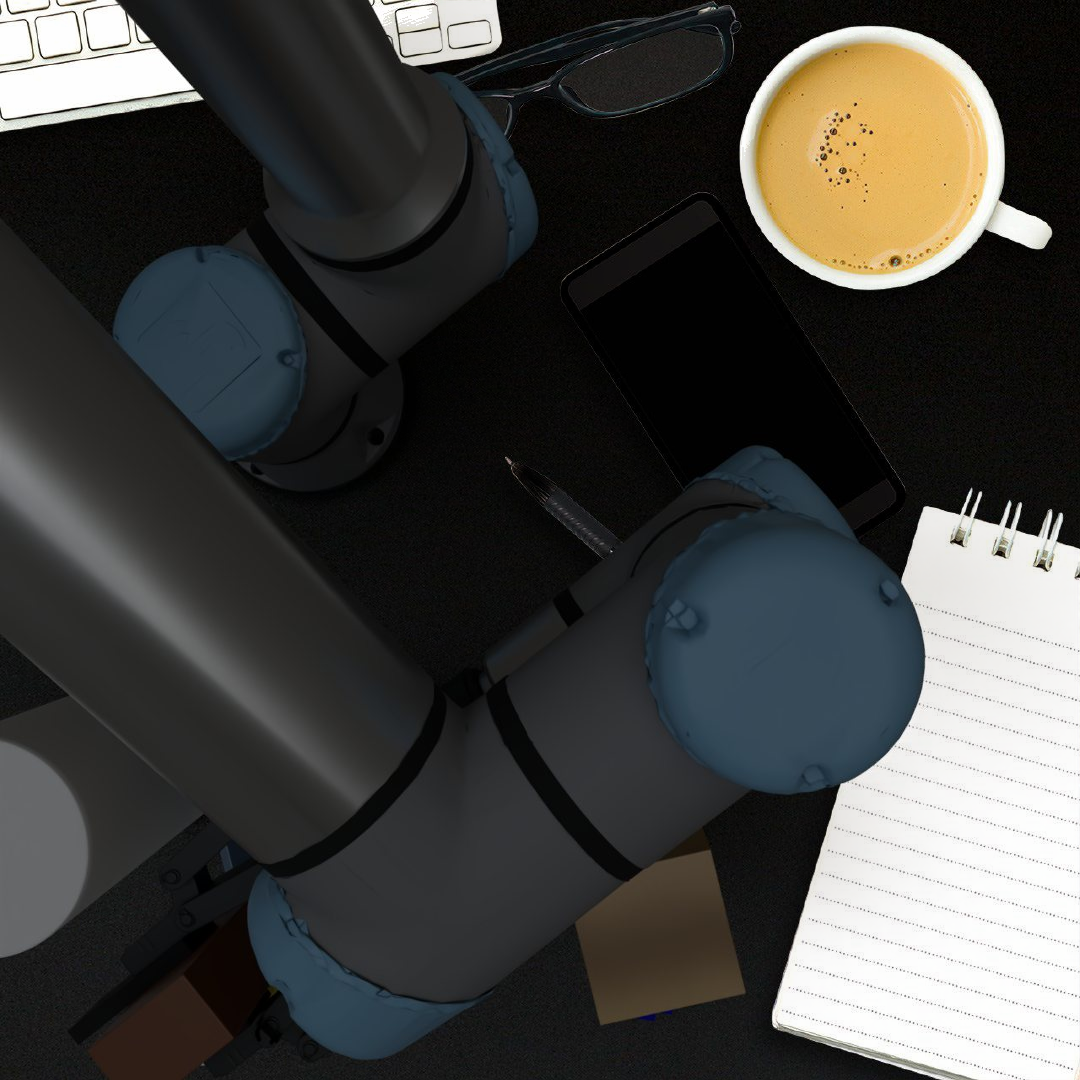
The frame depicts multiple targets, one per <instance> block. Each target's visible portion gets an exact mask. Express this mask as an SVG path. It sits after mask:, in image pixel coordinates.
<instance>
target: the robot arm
mask: <svg viewBox="0 0 1080 1080" xmlns="http://www.w3.org/2000/svg"><path fill="white" fill-rule="evenodd" d="M114 1H115V2H116V4H118V6H119V7H120V8H121V9H122V10H123V11H124V13H125V14H126V15H127V16H128V17H129V18H130V19H131V20H132V21H133V22H134V24H135V25H136V26H137V27H138V28H139V29H140V30H141V31H142V33H143V34H144V35H146V37H147V38H148V39H149V41H150V42H151V43H153V45H154V46H155V47H156V48H157V49H158V51H159V52H160V53H161V54H162V55H163V56H164V57H165V58H166V59H167V60H168V62H169V63H170V64H171V65H172V66H173V67H174V68H175V70H176V71H177V72H178V73H179V74H180V75H181V76H182V78H184V79H185V81H186V82H187V83H188V84H189V86H191V87H192V89H193V90H194V91H195V92H196V93H197V94H198V95H199V97H200V98H202V100H203V101H204V102H205V103H206V104H207V105H208V107H209V108H210V109H211V110H212V111H213V112H214V113H215V115H216V116H217V117H218V118H219V119H220V120H221V122H223V123H224V125H226V127H227V128H228V129H229V130H230V131H231V132H232V134H233V135H234V136H235V137H236V138H237V139H238V140H239V141H240V142H241V144H242V145H243V146H244V147H245V148H246V149H247V150H248V151H249V152H250V153H251V154H252V156H253V157H254V158H255V159H256V160H257V162H259V164H260V165H261V166H262V184H263V185H262V186H263V191H264V195H265V199H266V202H267V204H268V208H266V209H265V210H264V211H263V212H261V213H260V214H259V215H258V216H257V217H256V218H254V219H253V220H252V221H251V222H250V223H249V224H248V225H246V226H245V227H244V228H242V230H240V231H239V232H238V233H237V234H236V235H234V236H233V237H232V238H231V239H230V240H228V241H227V242H226V243H225V244H223V245H217V244H215V245H214V244H213V245H211V244H207V245H201V246H196V245H195V246H187V247H182V248H179V249H176V250H173V251H170V252H168V253H166V254H163V255H162V256H160V257H158V258H156V259H155V260H153V261H152V262H151V263H149V264H148V265H147V266H146V267H144V269H142V270H141V272H139V274H137V275H136V277H135V278H134V279H133V280H132V282H130V284H129V286H128V288H127V289H126V290H125V293H124V295H123V296H122V299H121V301H120V303H119V304H118V307H117V310H116V314H115V317H114V322H113V325H112V335H111V334H110V333H109V332H108V331H107V330H106V328H104V327H103V326H102V324H101V323H99V321H98V320H97V319H96V318H95V317H94V316H93V315H92V314H91V313H90V312H89V311H88V310H87V308H86V307H85V306H84V305H83V304H82V303H81V302H80V301H79V300H78V299H77V298H76V297H75V296H74V295H73V294H72V292H71V291H70V290H68V289H67V287H66V286H65V285H64V284H63V283H62V282H61V281H60V280H59V278H57V277H56V276H55V274H54V273H53V272H52V271H51V270H50V269H49V268H48V267H47V265H45V264H44V263H43V262H42V261H41V259H39V257H38V256H37V255H36V254H35V253H34V252H33V251H32V250H31V249H30V247H28V246H27V244H25V242H24V241H23V240H22V239H21V238H20V237H19V236H18V235H17V234H16V233H15V232H14V230H13V229H12V228H11V227H10V226H9V225H8V224H7V223H6V222H5V221H4V220H3V219H2V218H1V217H0V635H1V636H2V637H3V638H4V639H5V640H6V641H7V642H9V643H10V644H11V645H12V646H13V647H14V648H15V649H17V650H18V651H19V652H20V653H21V654H22V655H23V656H24V657H26V658H27V659H28V660H29V661H30V662H31V663H32V664H33V665H34V666H36V667H37V668H38V669H39V670H41V672H43V674H45V675H46V676H47V677H48V678H49V679H51V681H53V682H54V683H55V684H56V685H57V686H59V688H60V689H61V690H63V691H64V692H65V693H67V695H68V696H71V697H72V698H73V699H74V700H76V701H77V702H78V703H79V704H80V705H81V706H82V707H83V708H85V709H86V710H87V711H88V712H89V713H90V714H91V715H93V716H94V717H95V718H96V719H97V720H98V721H99V722H100V723H102V724H103V725H104V726H105V727H106V728H107V729H108V730H109V731H111V732H112V733H113V734H114V735H115V736H116V737H117V738H119V739H120V740H121V741H122V742H123V743H124V744H125V745H126V746H128V747H129V748H130V749H131V750H132V751H133V752H134V753H136V754H137V755H138V756H139V757H140V758H141V759H142V760H143V761H145V762H146V763H147V764H148V765H149V766H150V767H151V768H153V769H154V770H155V771H156V772H157V773H158V774H159V775H160V776H162V777H163V778H164V779H165V780H166V781H167V782H168V783H169V784H171V785H172V786H173V787H174V788H175V789H176V790H177V791H179V792H180V793H181V794H182V795H183V796H184V797H185V798H186V799H188V800H189V801H190V802H191V803H192V804H193V805H194V806H196V807H197V808H198V809H199V810H200V811H201V812H202V813H203V815H205V817H207V818H208V819H209V822H208V823H207V824H205V826H203V828H201V830H199V831H198V832H197V833H196V834H195V835H194V836H193V837H192V838H191V839H190V840H189V841H188V842H187V843H186V844H184V846H182V847H181V849H179V850H178V851H177V852H176V853H175V854H174V855H173V856H172V857H171V858H170V859H168V861H167V862H166V863H164V864H163V866H162V867H161V868H160V870H159V873H158V880H159V882H160V884H161V886H162V887H163V888H165V889H166V890H168V891H169V893H170V897H171V900H172V906H171V910H170V911H169V912H167V913H166V914H165V915H163V916H162V917H161V918H160V919H159V920H158V921H156V922H155V923H154V924H152V925H151V926H150V927H149V928H147V929H146V930H145V931H144V932H143V933H141V934H140V935H138V937H137V938H136V939H135V940H134V941H133V942H132V943H131V944H129V946H127V947H126V948H125V950H124V952H123V953H122V955H121V957H120V959H119V961H120V962H121V963H122V965H124V967H125V968H126V970H127V971H128V972H129V973H130V974H129V975H128V976H127V977H126V978H124V979H123V980H122V981H121V982H120V983H118V984H117V985H116V986H115V987H113V988H112V989H111V990H109V991H108V992H107V993H106V994H105V995H103V996H102V997H101V998H99V999H98V1000H97V1001H96V1002H95V1003H94V1004H93V1006H91V1007H90V1009H88V1011H87V1012H85V1013H84V1014H83V1015H82V1016H81V1017H80V1018H79V1019H78V1020H77V1021H76V1023H74V1024H73V1025H72V1026H71V1028H69V1029H68V1030H67V1033H68V1034H69V1035H70V1037H71V1038H72V1039H73V1040H74V1042H75V1043H76V1044H77V1045H78V1046H80V1045H81V1044H82V1043H84V1042H85V1041H86V1040H87V1039H89V1038H90V1037H91V1036H92V1035H94V1033H96V1032H97V1031H99V1030H100V1029H101V1028H102V1027H104V1026H105V1025H106V1024H107V1023H109V1022H110V1021H111V1020H112V1019H113V1018H115V1017H117V1015H118V1014H121V1013H122V1012H123V1011H124V1010H125V1009H126V1008H127V1007H128V1006H129V1004H130V1003H131V1002H132V1001H134V1000H135V999H136V998H138V997H139V996H140V995H141V994H143V993H144V992H145V991H146V990H148V989H149V988H150V987H151V986H153V985H154V984H155V983H156V982H158V981H159V980H160V979H161V978H163V977H164V976H165V975H166V974H168V973H169V972H170V971H171V970H173V969H174V968H175V967H176V966H178V965H179V964H180V963H181V962H183V961H184V960H185V959H186V958H188V957H189V956H190V955H191V954H193V953H194V952H195V950H196V949H197V948H198V947H199V946H200V945H201V944H202V943H203V941H204V940H205V939H206V938H207V937H208V936H209V935H210V934H211V933H212V931H213V930H214V929H215V928H216V927H217V925H216V924H215V922H214V921H213V920H215V919H217V918H219V917H221V916H222V915H224V914H226V913H228V912H230V911H231V910H233V909H235V908H237V907H239V906H240V905H242V904H244V903H246V902H248V914H247V922H248V931H249V936H250V941H251V945H252V947H253V950H254V953H255V956H256V959H257V962H258V965H259V967H260V970H261V971H262V973H263V975H264V977H265V979H266V980H267V982H268V983H269V985H271V986H273V987H275V988H277V989H278V991H277V992H276V993H275V994H274V995H272V996H271V992H270V991H269V990H268V989H267V991H266V992H265V993H264V995H263V996H262V998H261V999H260V1001H259V1002H258V1004H257V1005H256V1007H255V1008H254V1010H253V1011H252V1013H251V1014H250V1016H249V1017H248V1019H247V1020H246V1022H245V1023H244V1025H243V1026H242V1028H241V1029H240V1031H239V1032H238V1034H237V1035H236V1037H235V1038H234V1039H233V1040H232V1041H231V1042H230V1043H228V1044H227V1045H226V1046H224V1047H223V1048H222V1049H221V1050H219V1051H218V1052H217V1053H216V1054H214V1055H213V1056H212V1057H210V1058H209V1059H208V1060H207V1061H205V1062H204V1065H205V1067H206V1069H207V1070H208V1071H209V1072H210V1073H211V1075H212V1076H213V1078H214V1079H217V1078H220V1077H224V1076H227V1075H229V1074H230V1073H231V1072H232V1071H234V1070H235V1069H236V1068H237V1067H239V1066H240V1065H242V1064H243V1063H244V1062H245V1061H247V1060H248V1059H249V1058H251V1056H253V1055H254V1054H255V1053H257V1052H258V1051H259V1050H261V1049H262V1048H263V1049H271V1048H273V1047H275V1046H276V1045H278V1043H279V1042H280V1040H283V1041H286V1042H287V1043H290V1044H291V1045H292V1046H294V1047H296V1052H297V1055H298V1056H299V1057H300V1058H301V1060H302V1061H305V1062H308V1063H315V1062H317V1061H319V1060H321V1059H323V1058H324V1057H325V1056H327V1055H329V1054H330V1053H331V1052H333V1053H335V1054H339V1055H341V1056H342V1055H343V1056H345V1057H348V1058H351V1059H354V1060H360V1061H369V1060H379V1059H380V1060H381V1059H384V1058H388V1057H389V1058H390V1056H393V1055H395V1054H397V1053H399V1052H401V1051H403V1050H404V1049H406V1048H407V1047H410V1046H411V1045H412V1044H413V1043H415V1042H418V1040H420V1039H421V1038H423V1037H424V1036H426V1035H427V1034H429V1033H430V1032H433V1031H434V1030H435V1029H437V1028H438V1027H440V1026H441V1025H443V1024H444V1023H446V1022H448V1021H450V1020H451V1019H452V1018H453V1017H456V1016H457V1015H458V1014H460V1013H461V1012H463V1011H465V1010H468V1009H469V1008H471V1007H474V1006H476V1005H477V1004H479V1003H480V1002H482V1001H483V1000H484V999H485V998H487V997H488V996H491V995H492V994H493V992H494V991H495V990H496V989H497V988H498V986H499V985H500V984H501V983H502V982H503V981H504V979H506V977H508V976H509V975H510V974H512V973H513V972H514V971H516V970H517V969H518V968H519V967H520V966H522V965H523V964H524V963H526V962H527V961H528V960H529V959H531V958H532V957H533V956H534V955H536V954H537V953H538V952H539V951H540V950H542V949H543V948H544V947H546V946H547V945H548V944H549V943H551V942H552V941H553V940H554V939H556V938H557V937H558V936H560V935H562V933H564V932H565V931H566V930H567V929H569V928H570V927H571V926H572V925H574V924H575V922H576V921H577V920H578V919H580V918H581V917H582V916H583V915H585V914H586V913H587V912H589V911H590V910H591V909H592V908H594V907H595V906H596V905H597V904H599V903H600V902H601V901H602V900H604V899H605V898H606V897H607V896H609V895H610V894H611V893H613V892H614V891H615V890H616V889H618V888H619V887H620V886H621V885H623V884H624V883H625V882H628V881H630V879H632V878H633V877H635V876H636V875H637V874H639V873H640V872H641V871H642V870H644V869H647V868H649V867H650V866H651V865H653V864H654V863H655V862H657V861H658V860H659V859H661V858H662V857H663V856H665V855H666V854H667V853H668V852H670V851H671V850H672V849H674V848H675V847H676V846H678V845H679V844H680V843H682V842H683V841H684V840H686V839H687V838H688V837H690V836H691V835H692V834H694V833H695V832H696V831H697V830H699V829H700V828H701V827H702V828H703V827H704V826H706V825H707V824H708V823H709V822H711V821H712V820H714V818H716V817H718V816H719V815H720V814H721V813H723V812H724V811H725V810H727V809H728V808H729V807H730V806H732V805H733V804H734V803H736V802H737V801H738V800H740V799H741V798H742V797H744V796H745V795H746V794H748V793H750V791H751V790H754V791H757V792H763V793H767V794H774V795H787V796H788V795H793V794H798V793H810V792H816V791H819V790H822V789H825V788H833V787H836V786H839V785H840V784H846V783H848V782H851V781H852V780H854V779H856V778H858V777H859V776H861V775H862V774H864V773H865V772H867V771H869V770H870V769H871V768H872V767H874V766H875V765H876V764H878V763H879V762H880V761H881V760H882V759H883V758H884V757H885V756H887V754H888V753H889V752H890V751H891V750H892V748H893V747H894V746H895V745H896V744H897V743H898V742H899V740H900V739H901V738H902V737H903V734H904V732H905V731H906V730H907V728H908V726H909V724H910V722H911V720H912V718H913V716H914V713H915V710H916V708H917V707H918V704H919V701H920V699H921V694H922V691H923V686H924V681H925V680H924V679H925V672H926V647H925V646H926V645H925V641H924V634H923V629H922V625H921V622H920V619H919V616H918V613H917V610H916V607H915V604H914V603H913V601H912V598H911V596H910V594H909V593H908V591H907V589H906V588H905V586H904V584H903V583H902V581H901V579H900V577H899V575H898V573H896V572H895V571H894V570H892V569H891V568H890V567H889V565H888V564H886V563H885V561H884V560H882V558H881V557H879V556H877V555H876V554H875V553H874V552H873V551H872V550H870V549H869V548H867V547H866V546H865V545H862V544H861V543H860V542H859V540H858V538H857V536H856V534H855V533H854V531H853V529H852V528H851V526H850V525H849V523H848V522H847V520H846V519H845V518H844V516H843V515H842V514H841V512H840V511H839V510H838V508H837V507H836V506H835V505H834V503H833V502H832V500H831V499H830V498H829V497H828V496H827V495H826V494H825V492H823V490H822V489H821V488H820V487H819V486H818V485H817V484H816V483H815V482H814V481H813V480H812V478H811V477H810V476H808V474H807V473H805V471H804V470H802V468H800V467H799V466H798V465H797V464H796V463H794V462H793V461H792V460H790V459H788V458H784V456H783V455H782V454H781V453H780V452H779V451H777V450H776V449H774V448H771V447H768V446H766V445H757V444H755V445H749V446H745V447H744V448H742V449H740V450H738V451H737V452H736V453H734V454H733V455H731V456H730V457H729V458H727V459H726V460H724V461H723V462H722V463H721V464H719V465H718V466H717V467H714V469H712V470H711V471H709V472H707V473H705V475H703V476H700V477H699V476H697V477H695V478H693V480H691V482H689V483H688V484H687V485H686V486H684V488H683V491H682V493H681V494H680V495H679V496H678V497H676V498H675V499H673V500H672V501H671V502H670V503H669V504H668V505H667V506H665V507H664V508H663V509H662V510H661V511H659V512H658V513H657V514H655V516H654V517H652V518H651V519H650V520H649V521H647V522H646V523H645V524H643V526H641V527H640V528H639V529H637V530H636V531H634V532H633V534H630V536H629V537H627V538H626V539H625V540H624V541H623V542H622V543H620V544H619V545H618V546H617V547H616V548H615V549H613V550H612V551H610V553H608V554H607V555H606V556H605V557H603V558H602V560H600V561H599V562H598V563H596V564H595V565H594V566H593V567H592V568H590V569H589V570H588V571H587V572H586V573H584V574H583V575H582V576H581V577H580V578H578V579H577V580H576V581H575V582H573V583H572V584H571V585H569V587H567V588H564V589H563V590H562V591H561V592H559V593H557V595H555V596H554V598H551V599H549V600H547V602H546V603H544V604H543V605H542V606H541V607H539V608H538V609H537V610H535V611H534V612H533V613H532V614H531V615H529V616H528V617H527V618H526V619H524V620H523V621H522V622H521V623H519V624H518V625H516V626H515V627H514V628H513V629H512V630H510V631H509V632H508V633H507V634H505V635H504V636H503V637H502V638H500V639H499V640H498V641H496V642H495V643H494V644H493V645H492V646H490V647H489V648H488V649H486V650H485V651H484V655H483V661H482V665H483V667H484V670H483V669H481V668H477V667H472V668H469V667H464V668H463V669H461V671H459V672H458V673H457V674H456V675H454V676H453V677H452V678H451V679H449V680H448V681H447V682H445V683H444V684H443V685H442V686H440V687H439V686H438V685H437V683H436V682H435V681H434V679H433V678H432V677H431V676H430V675H429V674H428V673H427V671H425V670H424V668H423V667H422V666H421V665H420V664H419V663H418V662H417V661H416V660H415V659H414V658H413V657H412V656H411V655H410V654H409V652H408V651H407V650H406V649H405V648H404V647H403V646H402V645H401V644H400V642H398V640H397V639H396V638H395V637H394V636H392V634H391V633H390V632H389V631H388V630H387V629H386V628H385V626H383V624H381V622H379V620H378V619H377V618H376V617H375V616H374V615H373V614H372V613H371V611H369V610H368V609H367V608H366V606H365V605H364V604H363V603H362V602H361V601H360V600H359V599H358V598H357V597H356V596H355V595H354V594H353V593H352V592H351V591H350V589H348V587H347V586H346V585H345V584H344V583H343V582H342V581H341V580H340V579H339V578H338V576H337V575H335V573H334V572H333V571H332V570H331V569H330V568H329V567H328V566H327V565H326V563H324V562H323V560H321V558H320V557H319V556H318V555H317V554H316V553H315V552H314V551H313V550H312V549H311V548H310V547H309V545H308V544H307V543H306V542H305V541H304V540H303V539H302V538H301V537H300V536H299V535H298V534H297V533H296V532H295V531H294V529H293V528H292V527H290V525H288V523H287V522H286V521H285V520H284V519H283V518H282V517H281V515H280V514H278V512H276V511H275V509H274V508H273V507H272V506H271V505H270V504H269V503H268V502H267V501H266V500H265V499H264V498H263V496H262V495H261V494H259V493H258V491H257V490H256V488H254V487H253V486H252V485H251V484H250V483H249V481H247V479H246V478H245V477H244V476H243V475H242V474H241V473H240V472H239V471H238V470H237V468H235V467H234V466H233V464H232V463H231V462H235V463H236V464H238V466H239V467H240V468H242V470H244V471H245V472H247V473H248V474H250V475H251V476H253V478H255V479H257V480H259V481H261V482H263V483H265V484H266V485H269V486H271V487H274V488H277V489H280V490H285V491H290V492H299V493H322V492H323V493H324V492H330V491H334V490H338V489H342V488H344V487H347V486H349V485H352V484H353V483H356V482H358V481H359V480H361V479H363V478H364V477H366V476H367V475H368V474H370V473H371V472H372V471H374V470H375V469H376V468H377V467H378V466H379V465H380V464H381V463H382V462H383V461H384V460H385V458H386V457H387V455H388V454H389V453H390V452H391V450H392V448H393V447H394V446H395V443H396V442H397V439H398V438H399V435H400V432H401V431H402V427H403V424H404V420H405V416H406V411H407V400H408V394H407V393H408V391H407V382H406V381H407V380H406V375H405V371H404V368H403V365H402V361H401V360H400V358H401V357H402V356H403V355H404V354H405V353H407V352H408V351H409V350H411V348H413V347H414V346H416V345H417V344H418V343H419V342H420V341H421V340H423V339H424V338H425V337H426V336H427V335H429V334H430V333H431V332H433V331H434V330H435V329H436V328H437V327H439V326H440V325H441V324H442V323H444V321H446V320H447V319H449V317H451V316H452V315H454V313H455V312H457V311H458V310H460V308H462V307H463V306H465V304H466V303H468V302H469V301H470V300H471V299H472V298H474V297H475V296H476V295H478V293H480V292H481V291H482V290H483V289H485V288H486V287H487V286H489V285H490V284H494V283H496V282H498V281H499V280H501V279H502V278H503V277H505V275H507V274H508V270H510V269H511V266H513V264H514V263H515V262H516V261H517V260H518V259H520V258H521V257H522V256H523V255H524V254H525V253H526V252H528V250H529V249H530V248H531V247H532V245H533V243H534V242H535V240H536V237H537V234H538V231H539V213H538V207H537V202H536V197H535V195H534V192H533V188H532V187H531V183H530V181H529V179H528V176H527V174H526V173H525V171H524V168H523V167H522V166H521V165H520V164H519V162H518V161H517V160H516V159H515V155H514V154H515V152H514V149H513V148H512V146H511V144H510V142H509V140H508V138H507V137H506V135H505V133H504V131H503V130H502V128H501V127H500V126H499V124H498V123H497V121H496V120H495V118H494V116H492V114H491V113H490V111H489V110H488V109H487V108H486V106H485V105H484V104H483V102H481V100H480V98H478V97H477V96H476V94H475V93H474V92H473V91H472V90H471V89H470V88H469V87H468V86H467V85H466V84H465V83H464V82H462V80H460V79H459V78H457V77H456V76H455V75H452V74H451V73H448V72H444V71H440V72H439V71H436V72H434V73H428V72H426V71H424V70H422V68H419V67H417V66H414V65H411V64H409V63H406V62H402V60H401V58H400V56H399V55H398V53H397V50H396V49H395V46H394V45H393V43H392V41H391V39H390V38H389V35H388V33H387V32H386V30H385V28H384V26H383V24H382V22H381V20H380V18H379V17H378V15H377V13H376V11H375V9H374V7H373V5H372V3H371V1H370V0H114ZM232 840H234V841H235V842H236V843H237V844H239V845H240V846H241V847H242V848H243V849H244V850H245V851H246V852H248V853H249V854H250V855H251V856H252V858H250V859H248V860H246V861H245V862H243V863H241V864H239V865H237V866H236V867H234V868H232V869H230V870H228V871H227V872H225V871H224V872H223V873H222V874H220V875H217V876H216V877H214V878H212V877H211V873H210V871H209V868H208V864H209V863H210V862H211V861H212V860H213V859H214V858H215V857H216V856H217V855H218V854H220V851H221V850H222V849H223V848H224V847H225V846H227V845H228V844H229V843H230V842H231V841H232ZM270 996H271V997H270ZM269 997H270V998H269ZM192 1073H193V1072H191V1073H190V1074H192Z"/></svg>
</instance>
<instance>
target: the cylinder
mask: <svg viewBox="0 0 1080 1080" xmlns="http://www.w3.org/2000/svg"><path fill="white" fill-rule="evenodd" d="M203 815H204V814H203V813H202V812H201V811H200V810H199V809H198V808H197V807H196V806H194V805H193V804H192V803H191V802H190V801H189V800H188V799H186V798H185V797H184V796H183V795H182V794H181V793H180V792H179V791H177V790H176V789H175V788H174V787H173V786H172V785H171V784H169V783H168V782H167V781H166V780H165V779H164V778H163V777H162V776H160V775H159V774H158V773H157V772H156V771H155V770H154V769H153V768H151V767H150V766H149V765H148V764H147V763H146V762H145V761H143V760H142V759H141V758H140V757H139V756H138V755H137V754H136V753H134V752H133V751H132V750H131V749H130V748H129V747H128V746H126V745H125V744H124V743H123V742H122V741H121V740H120V739H119V738H117V737H116V736H115V735H114V734H113V733H112V732H111V731H109V730H108V729H107V728H106V727H105V726H104V725H103V724H102V723H100V722H99V721H98V720H97V719H96V718H95V717H94V716H93V715H91V714H90V713H89V712H88V711H87V710H86V709H85V708H83V707H82V706H81V705H80V704H79V703H78V702H77V701H76V700H74V699H73V698H72V697H71V696H70V695H67V696H64V697H61V698H60V699H55V700H54V701H50V702H47V703H45V704H42V705H40V706H37V707H34V708H31V709H29V710H26V711H23V712H21V713H18V714H15V715H12V716H9V717H7V718H4V719H1V720H0V959H3V958H8V957H12V956H15V955H18V954H22V953H24V952H26V951H29V950H30V949H32V948H35V947H37V946H38V945H40V944H41V943H42V942H44V941H46V940H48V939H49V938H50V937H51V936H53V935H54V934H55V933H57V932H58V931H59V930H61V929H62V928H63V927H64V926H65V925H67V924H68V923H69V922H71V920H73V919H74V918H76V917H77V916H78V915H79V914H81V913H82V912H83V911H84V910H86V909H87V908H88V907H89V906H91V905H92V904H93V903H94V902H95V901H97V900H98V899H100V897H102V896H103V895H105V893H107V892H108V891H110V890H111V889H112V888H113V887H114V886H115V885H117V884H118V883H119V882H121V881H122V880H123V879H124V878H125V877H126V876H128V875H129V874H130V873H132V872H133V871H135V869H137V868H138V867H139V866H140V865H142V864H143V863H144V862H145V861H147V860H148V859H150V857H152V856H153V855H154V854H155V853H157V852H158V851H159V850H160V849H161V848H163V847H164V846H166V845H167V844H168V843H169V842H171V841H172V840H173V839H174V838H175V837H177V836H178V835H179V834H180V833H182V832H183V831H184V830H185V829H187V828H188V827H189V826H190V825H192V824H193V823H195V821H196V820H198V819H199V818H201V817H202V816H203Z"/></svg>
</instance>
